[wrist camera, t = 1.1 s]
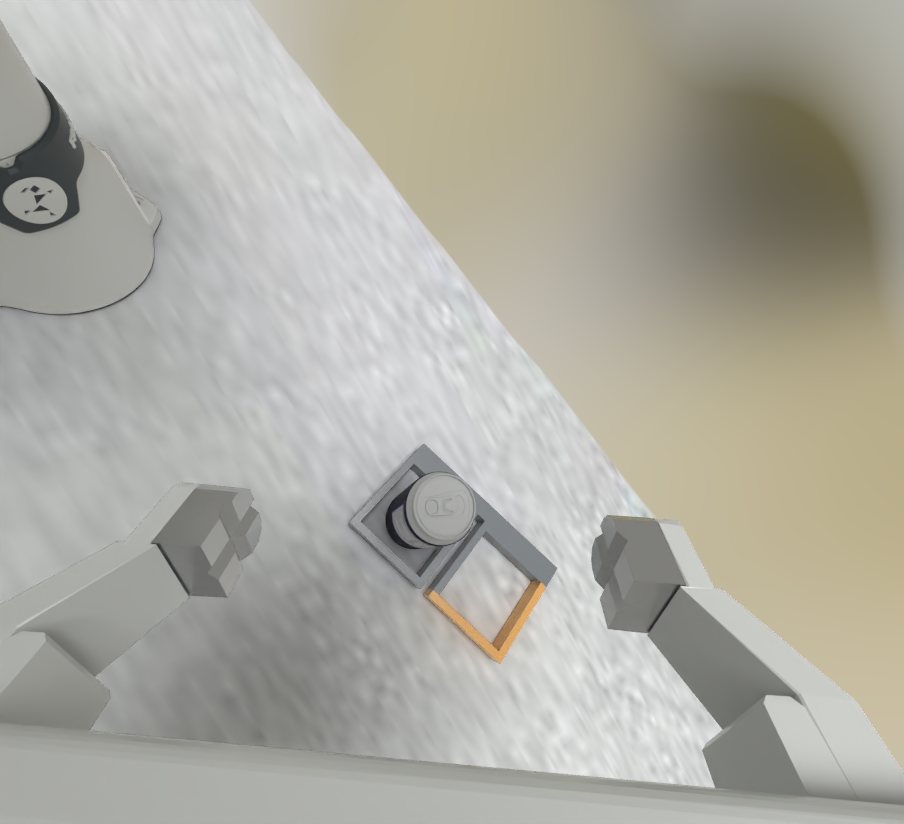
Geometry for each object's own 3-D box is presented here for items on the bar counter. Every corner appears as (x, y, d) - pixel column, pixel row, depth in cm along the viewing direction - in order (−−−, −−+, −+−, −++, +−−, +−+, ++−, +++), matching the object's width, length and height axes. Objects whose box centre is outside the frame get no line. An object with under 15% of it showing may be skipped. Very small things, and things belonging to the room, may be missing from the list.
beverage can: (441, 546, 40) (484, 542, 29) (385, 551, 38) (410, 549, 28) (437, 490, 42) (476, 467, 31) (383, 493, 40) (405, 469, 29)
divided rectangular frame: (348, 523, 38) (349, 522, 36) (419, 448, 43) (423, 443, 41) (491, 658, 38) (500, 663, 36) (547, 567, 43) (557, 568, 41)
